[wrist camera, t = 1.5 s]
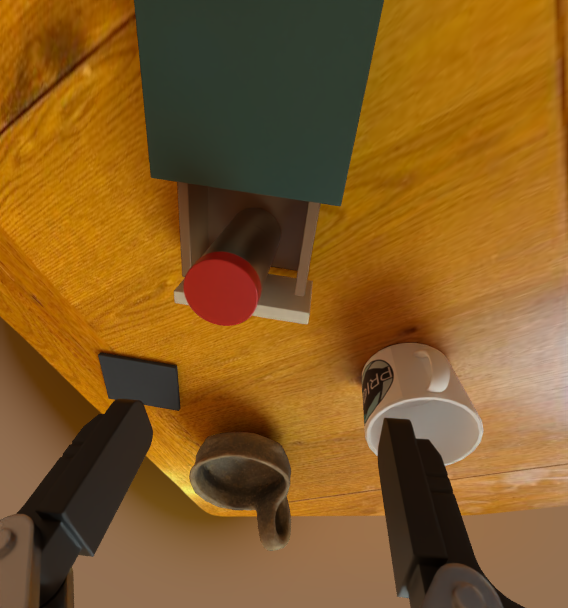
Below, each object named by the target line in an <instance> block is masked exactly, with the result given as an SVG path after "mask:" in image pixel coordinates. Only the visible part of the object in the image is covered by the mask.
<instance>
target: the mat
mask: <svg viewBox="0 0 568 608" xmlns="http://www.w3.org/2000/svg"><path fill="white" fill-rule="evenodd" d="M98 356H99V361H100V365H101V369H102V373H103V377H104V381H105V385H106V389H107V393H108V397H109V399H115V400H116V399H131V400H141V401H142V402H143V404H144V405H149V406H154V407H160V408H166V409H171V410H177V411H179V410H180V398H179V385H178V372H177V365H171V364H165V363H159V362H153V361H147V360H142V359H136V358H130V357H124V356H118V355H113V354H107V353H101V352H100V353H99V354H98Z"/></svg>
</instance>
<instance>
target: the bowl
mask: <svg viewBox="0 0 568 608" xmlns="http://www.w3.org/2000/svg"><path fill="white" fill-rule="evenodd" d="M290 475H291V467H290V464H289V461H288V458H287V455H286V453H285V451H284V449H283V448H282V446H281V445H280V444H279V443H278V442H275V441H273V440H271V439H268V438H266V437H264V436H261V435H258V434H255V433H248V432H227V433H220V434H216V435H212V436H209V437H207V438H206V439H205V442H204V443H203V444H202V446H201V447H200V449H199V451H198V453H197V455H196V462H195V465H194V466H193V467H192V469H191V471H190V476H189V477H190V482H191V485H192V487H193V489H194V491H195V493H196V494H197V495H199V496H200V497H202V498H203V499H204V500H205V501H207V502H209V503H211V504H213V505H215V506H218V507H221V508H227V509H232V510H256V511H257V520H258V529H259V536H260V540H261V543H262V544H263V546H264V547H265V548H266V549H267V550H270V551H273V550H278V549H281V548H284V547H285V546H286V545H287V543H288V541H289V538H290V531H291V515H290V509H289V504H288V500H287V496H286V495H287V493H288V490H289V486H290Z"/></svg>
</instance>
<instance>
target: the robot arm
mask: <svg viewBox="0 0 568 608" xmlns="http://www.w3.org/2000/svg"><path fill="white" fill-rule="evenodd" d="M152 437H153V430H152V426H151V424H150V421H149V418H148V415H147V413H146V410H145V407H144V404H143V402H142V401H141V400H131V399H116V400H115V401H114V402H113V403H112V404H111V406H110V407H109V408H108V410H107V411H106V412H105V414H99V415H97V416H96V417H95V418H94V419H92V420H91V421H90V422H89V423H87V424H86V425H85V426H84V427H83V428H82V429H81V431H80V432H79V433H78V435H77V436H76V437H75V439H74V440H73V441H72V444H71V445H69V446H68V448H67V449H66V450H65V452H64V453H63V456H62V457H60V458H59V460H58V461H57V462H56V464H55V465H54V466H53V468H52V469H51V470H50V472H49V473H48V474H47V475H46V477H45V478H44V479H43V481H42V482H41V483H40V485H39V486H38V487H37V489H36V490H35V492H34V493H33V494H32V495H31V497H30V498H29V499H28V501H27V502H26V503H25V505H24V506H23V507H22V508H21V509H20V510H19V511H18V512H17V514H14V515H11V516H8V517H5V518H3V519H1V520H0V608H74V585H73V570H72V565H73V564H74V562H75V560H76V558H77V556H78V555H85V556H92V557H93V556H94V554H95V552H96V550H97V548H98V546H99V544H100V543H101V541H102V539H103V537H104V535H105V533H106V531H107V529H108V527H109V525H110V523H111V521H112V519H113V517H114V515H115V513H116V512H117V510H118V508H119V506H120V504H121V502H122V500H123V498H124V496H125V494H126V492H127V490H128V488H129V486H130V484H131V482H132V481H133V479H134V477H135V475H136V473H137V471H138V469H139V467H140V465H141V463H142V461H143V459H144V457H145V455H146V454H147V452H148V450H149V448H150V445H151V442H152ZM378 468H379V475H380V482H381V489H382V495H383V502H384V509H385V516H386V522H387V529H388V536H389V543H390V550H391V557H392V564H393V570H394V577H395V584H396V591H397V596H398V597H405V598H409V599H410V606H411V608H525V607H523V606H521V605H519V604H517V603H515V602H513V601H511V600H510V599H508V598H507V597H506V596H504V595H503V594H502V593H501V592H500V591H498V590H497V589H496V588H495V587H494V586H493V585H492V584H491V582H490V581H489V580H488V579H487V577H486V576H485V575H484V573H483V572H482V570H481V569H480V567H479V565H478V563H477V560H476V558H475V556H474V553H473V549H472V546H471V543H470V541H469V538H468V534H467V531H466V528H465V525H464V522H463V520H462V516H461V513H460V510H459V507H458V504H457V501H456V498H455V495H454V494H453V489H452V486H451V483H450V480H449V478H448V476H447V475H448V474H447V471H446V468H445V465H444V462H443V459H442V456H441V455H440V453H439V452H438V451H437V449H436V448H435V447H434V445H433V444H432V443H431V442H430V440H429V439H417V438H416V437H415V433H414V430H413V426H412V423H411V421H410V420H409V419H398V418H384V420H383V425H382V430H381V435H380V440H379V446H378Z"/></svg>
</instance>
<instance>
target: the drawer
mask: <svg viewBox="0 0 568 608" xmlns="http://www.w3.org/2000/svg"><path fill="white" fill-rule="evenodd" d="M177 186H178V204H179V223H180V241H181V259H182V276H183V277H185V276H186V274H187V272H188V271H189V269H190V268H191V267H192V266H193V265H194V263H195V262H196V261H197V260H198V259H199V258H201V256H202V255H203V254H204V253H205V252H206V251H207V249H208V248H209V247H210V246H211V245H212V243H213V242H214V241H215V240H216V239H217V238H218V236H219V235H220V234H221V233H222V232H223V230H224V229H225V228H226V227H227V226H228V225H229V223H230V222H231V221H232V220H233V219H234V217H235V216H236V215H237V214H238V213H239V212H241V211H242V210H244V209H247V208H260V209H263V210H265V211H267V212H269V213H270V214H271V215H272V216H273V217H274V218H275V219H276V221H277V222H278V224H279V227H280V233H281V236H280V241H279V244H278V247H277V250H276V252H275V255H274V258H273V261H272V264H271V267H278V268H284V269H290V270H297V271H298V273H297V278H291V277H285V276H279V275H272V274H268V275H267V277H266V280H265V283H264V286H263V289H262V291H261V296H260V299H259V302H258V305H257V308H256V310H255V312H254V313H253V314H252V315H253V316H259V317H265V318H271V319H277V320H283V321H289V322H295V323H301V324H308V320H309V315H310V305H311V294H312V282H313V281H310V280H307V276H308V271H309V265H310V259H311V254H312V248H313V242H314V237H315V231H316V225H317V220H318V214H319V208H320V203H315V202H309V201H302V200H295V199H289V198H282V197H276V196H269V195H262V194H256V193H249V192H242V191H236V190H229V189H222V188H216V187H209V186H202V185H196V184H189V183H182V182H177ZM184 279H185V278H184ZM183 284H184V280H183V281H182V282H181V283H180V284H179V286H178V287H177V288H176V289H175V290H174V298H175V303H180V304H186V305H189V304H188V302H187V300H186V298H185V295H184V289H183Z"/></svg>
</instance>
